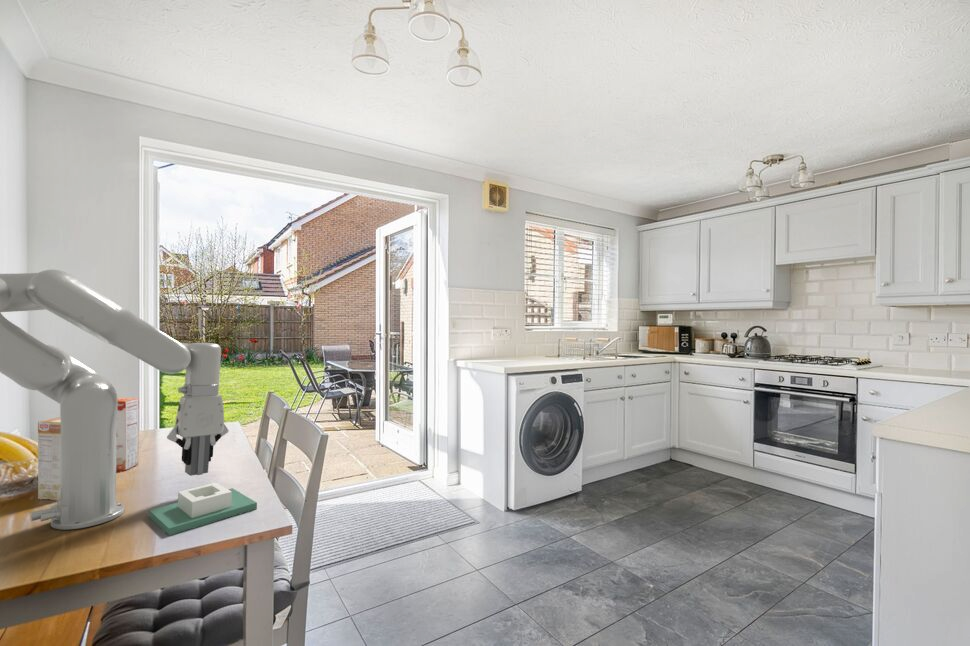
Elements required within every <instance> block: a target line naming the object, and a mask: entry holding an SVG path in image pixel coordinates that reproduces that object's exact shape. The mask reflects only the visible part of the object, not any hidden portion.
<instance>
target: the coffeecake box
mask: <svg viewBox="0 0 970 646" xmlns="http://www.w3.org/2000/svg"><path fill="white" fill-rule="evenodd" d="M37 499H38V500H42V499H50V501H59V500H61V416H58V417H54V418H49V419H44V420H40V421H37Z"/></svg>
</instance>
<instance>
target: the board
mask: <svg viewBox="0 0 970 646" xmlns="http://www.w3.org/2000/svg"><path fill="white" fill-rule="evenodd" d="M227 489H228V490H230V491H231V492H232V507H229V508H225V509H222V510H218V511H215V512H211V513H208V514H204V515H201V516H197V517H194V518H191V517H190V516H189V515H188V514H186V513H185V512H184V511H183V510H181V509H180V508H179V507H178V501H177V502H174V503H170V504H167V505H163V506H159V507H155V508H150V509H148V517H149V518H150V520H152V521H153V522H154V523H155V524H156V523H157V524H156V525H157V526H158V525H159V528H161V529H162V530H163V531H164V532H165V533H166V534H167V535H168V536H172V534H173V535H176V534H178V533H182V532H184V531H185V530H186V531H188V530H187V529H189V530H191V528H192V529H195V528H194V527H196V528H198V527H202V526H205V525H210V524H213V523H214V522H218V520H219V521H221V519H222V520H224V519H223V518H225V519H228V518H227V517H229V518H231V517H230V516H232V517H234V515H235V516H238V515H241V514H240V513H242V514H244V512H245V513H247V511H248V512H251V510H252V511H255V510H257V509H258V502H256V501H255V500H253V499H251V498H250V497H248V496H247V495H245V494H243V493H241V492H240V491H238V490H236V489H234V488H233V487H231V488H227ZM254 509H255V510H254ZM237 514H238V515H237ZM181 531H182V532H181ZM186 531H185V532H186Z"/></svg>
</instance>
